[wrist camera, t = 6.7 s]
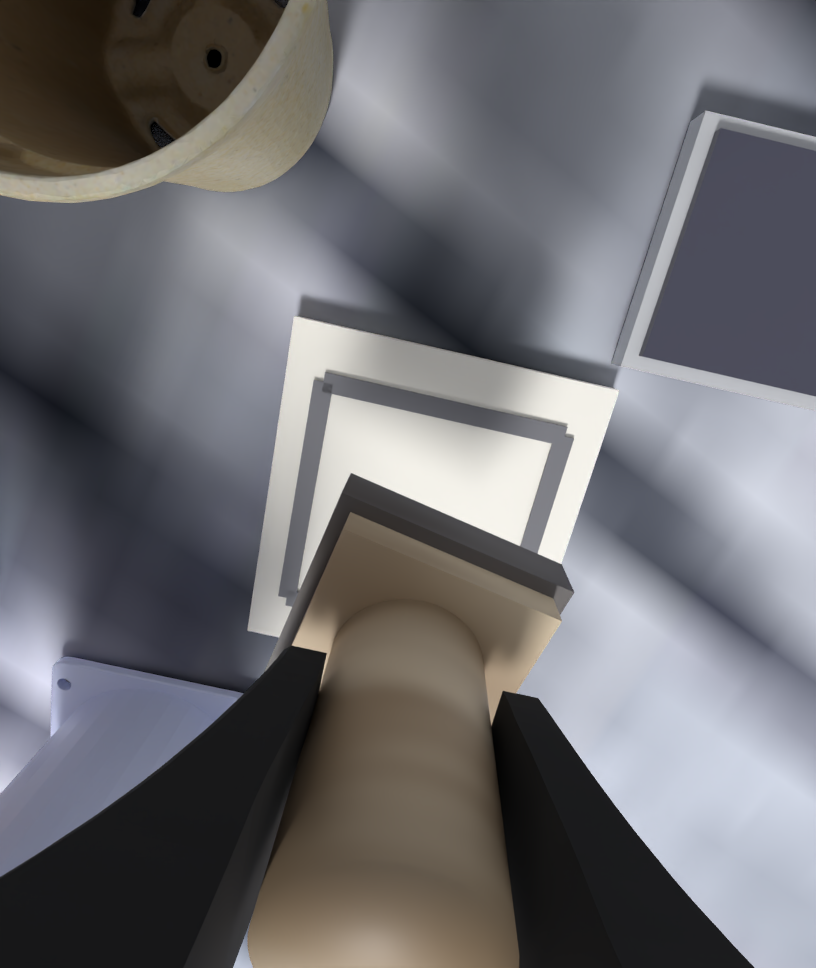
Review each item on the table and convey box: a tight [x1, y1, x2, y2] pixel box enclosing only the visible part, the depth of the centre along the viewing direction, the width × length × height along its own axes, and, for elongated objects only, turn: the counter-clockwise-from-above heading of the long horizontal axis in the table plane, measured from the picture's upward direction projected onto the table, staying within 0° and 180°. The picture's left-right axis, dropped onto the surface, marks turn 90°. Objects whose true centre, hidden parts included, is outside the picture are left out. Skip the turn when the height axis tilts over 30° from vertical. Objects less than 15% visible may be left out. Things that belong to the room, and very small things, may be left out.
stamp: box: [248, 473, 574, 968], centre depth 9 cm, size 5×5×7 cm
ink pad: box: [611, 111, 816, 411], centre depth 16 cm, size 7×7×1 cm
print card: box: [247, 316, 619, 637], centre depth 18 cm, size 11×10×1 cm
